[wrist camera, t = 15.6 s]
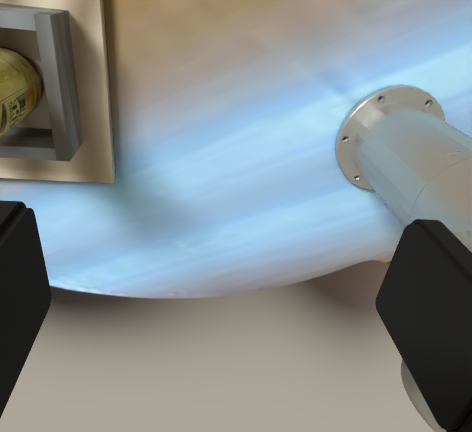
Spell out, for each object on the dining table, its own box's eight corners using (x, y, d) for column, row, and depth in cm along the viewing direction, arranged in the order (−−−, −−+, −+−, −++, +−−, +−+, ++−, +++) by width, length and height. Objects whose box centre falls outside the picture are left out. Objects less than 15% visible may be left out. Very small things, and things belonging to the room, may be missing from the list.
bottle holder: (99, -51, 33) (80, -55, 27) (115, 177, 44) (104, 206, 39) (-119, -78, 31) (-187, -89, 25) (-42, 169, 42) (-78, 198, 37)
